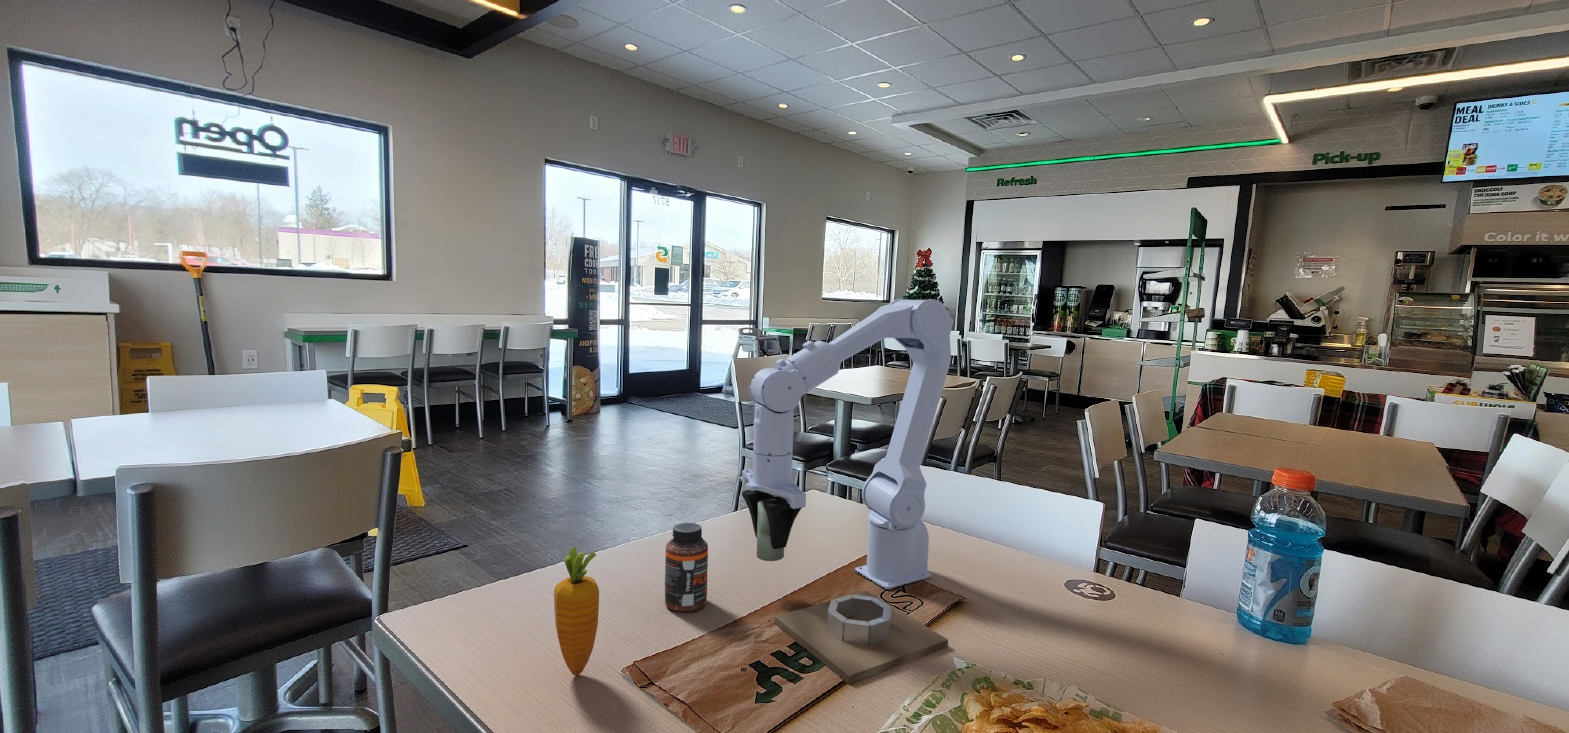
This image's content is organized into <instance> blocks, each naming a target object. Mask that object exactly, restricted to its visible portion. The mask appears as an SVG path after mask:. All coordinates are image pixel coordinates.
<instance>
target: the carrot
mask: <svg viewBox="0 0 1569 733" xmlns="http://www.w3.org/2000/svg"><path fill="white" fill-rule="evenodd" d="M585 555H586V554H585V553H584V552H580V551H578V553H577V549H576V547H575V546H574V547H570V548H569V549H568V555H567V556H565V557H564V564H565V567H566V570H567V572H568V574H569V576H568V577H566V578H564V579H563V580H561V581H560V582H558V583H556V585H555V586H554V589H553V590H554V591H553V598H554V599H553V603H554V605H553V606H554V617H555V618H554V619H555V620H554V621H555V627H556V628H555V629H556V634H557V639H558V642H559V643H558V644H559V647H560V651H561V654H562V655H561V656H562V657H563V660H564V662H565V664H566V666H567V668H568V669H569V671H570V673H571V675H573V676H575V677H579V676H580V675H581V674H582V673H583V672H584V670H585V668H586V666H587V664H588V662H589V660H590V657H591V655H592V652H593V650H594V646H595V641H596V636H597V630H598V625H599V612H600V611H599V609H600V605H599V604H600V589H599V586H598V583H597V582H596V580H595V578H593V577H591V576H585V575H586V574H587V573H588V570H587V569H586V568H587V565H588V564H589V563H590V561H592V560H593V559H594V558H595V557H596V556H597V554H596V553H595V552H592V553H590V554H589V555H588V556H586V557H585ZM584 558H585V559H584Z"/></svg>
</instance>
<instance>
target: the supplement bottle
mask: <svg viewBox="0 0 1569 733" xmlns="http://www.w3.org/2000/svg"><path fill="white" fill-rule="evenodd" d="M702 532H703V531H702V525H700V524H699V523H696V522H695V523H694V522H681V523H680V522H679V523H677V524H675V525H673V527H672V537H673V538H672V539H670V540H669V541H667V543H666V546H665V560H664V561H665V562H664V563H665V570H664V571H665V572H664V573H665V574H664V576H665V577H664V578H665V579H664V603H665V606H666V607H667V608H668V609H670V610H672V611H674V612H675V611H676V612H681V613H689V612H695V611H698V610H699V609H702V607H704V606H705V605H706V604H707V598H708V567H709V566H708V565H709V564H708V562H709V546H708V542H707V540H705V539H704V538H703V537H702V535H703V534H702Z"/></svg>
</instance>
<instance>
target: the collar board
mask: <svg viewBox="0 0 1569 733" xmlns="http://www.w3.org/2000/svg"><path fill="white" fill-rule="evenodd" d="M850 595H851V596H852V595H859V596H867V597H874V598H877V599H878V600H880V601H882V602H883V603H885V604H887V605H888V606H890V607H891V627H890V636H889V638H888V639H886V640H883V641H880V642H877V643H874V644H871V645H870V644H868V645H865V644H858V643H850V642H844V640H843V641H841V640H840V639H839V638H837V637H836V636H835V635H833V634H832V633H831V632H829V631H828V629H827V619H828V609H829V606H830V602H831V601H832V600H833V599H832V600H829V601H828V600H827V601H825V602H821V603H818V604H815V605H811V606H807V607H803V608H800V609H796V610H793V611H790V612H789V611H788V612H785V613H782V614H778V615H775V616H774V624H775V625H776V626H777V627H778V628H779V629H781V631H783V630H784V631H785V632H784V631H783V632H784V633H786V635H788V634H789V635H790V636H789V635H788V636H789V637H791V638H792V639H793V640H794V641H795V642H796V643H798V644H799V645H800V646H801V645H802V648H804V649H805V648H806V649H807V650H806V649H805V650H806V651H808V652H809V653H810V654H811V655H813V656H814V658H816V659H817V660H819V661H820V663H822V664H823V663H824V666H826V667H827V668H828V667H829V670H831V671H832V672H833V671H834V672H835V673H834V672H833V673H834V674H835V675H837V674H838V675H840V676H841V677H842V678H843V679H842V678H841V677H840V678H841V679H842V680H843V681H844V682H845V683H847V684H848V685H851V684H854V683H857V682H859V681H861V680H863V679H867V678H868V677H872V676H874V675H877V674H880V673H882V672H885V671H888V670H891V669H893V668H895V667H898V666H901V665H904V664H906V663H907V664H908V663H909V662H911V661H914V660H917V659H920V658H922V657H925V656H928V655H930V654H933V653H935V652H938V651H941V650H943V649H946V648H948V647H949V646H948V644H949V639H948V638H946V637H944V636H943V635H941V634H939V633H938V632H936V631H934V630H933V629H931V628H930V627H928V626H926V625H925V624H923V623H922V622H919V621H918V620H917V619H915V618H913V617H912V616H910V615H908V614H907V613H905V612H903V611H901V610H900V609H898V608H896V607H895V606H893V605H891V604H890V603H889V602H886V601H885V600H883V599H881V598H880V597H879V596H877V595H875V594H873V593H871V592H870V591H869V590H862V591H860V592H855V593H852V594H850ZM846 618H847V619H851V620H859V621H866V622H868V621H871V620H873V619H871V618H866V617H858V616H850V617H846ZM838 675H837V676H838Z"/></svg>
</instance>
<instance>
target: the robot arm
mask: <svg viewBox="0 0 1569 733" xmlns="http://www.w3.org/2000/svg"><path fill="white" fill-rule="evenodd" d="M953 325H954V320H953V318H952V316H951V314H950V312H949V310H948V309H947V307H946V305H945V304H944V303H942V302H941V301H940V300H938V299H934V298H933V299H931V298H930V299H907V298H896V299H894V300H892V301H891V302H889V303H888V304H885V305H884V304H883V305H882V306H879V308H877V310H876V311H875V310H874V312H873V313H871V314H869V316H867V317H865V318H864V319H862V320H861V321H859V322H858V323H857V324H855V325H853V326H852V327H850V328H849V329H847V330H846V331H845V332H843V333H842V334H841V335H838V336H837V337H836V338H834V339H833V340H831V341H829V342H825V341H822V340H815V342H814V341H813V340H807V341H806V342H803V344H802V347H803V348H802V349H801V350H799V351H797V352H796V353H794V354H792V355H790V356H789V357H788V358H786V359H784V358H780V359H778V360H776V361H775V364H776V366H775V368H774V367H766V368H765V367H764V368H762V369H761V370H759V371H757V372H756V373H755V374H754V376H753V377H754V378H752V379H751V383H750V385H748V387H747V388H748V394H749V397H750V398H751V400H752V401H753V403H754V418H753V442H752V444H753V448H752V450H753V452H752V468H749V469H743V470H741V471H742V472H741V483H743V484H745V488H746V490H742V492H741V496H742V498H743V499H744V501H745V503H746V505H747V508H748V510H749V514H750V517H751V521H752V522H751V523H752V528H753V532H754V535H755V539H757V522H758V502H759V501H760V500H763V499H776V501H775V500H772V501H766V502H763V506H764V508H765V510H766V513H767V516H768V521H769V527H770V541H771V546H772V548H773V549H779V548H784V549H785V548H787V544H788V541H789V537H790V533H791V530H792V528H793V525H794V523H795V521H796V518H797V516H798V514H799V513H800V512H801V510H802V508H806V506H807V505H806V504H807V503H806V502H807V501H806V500H807V492H804V491H803V490H801V489H800V487H799V486H797V484H796V483H795V482H794V480H793V458H794V457H793V450H794V449H793V446H794V445H793V443H794V413H795V412H794V409H795V408H796V407H797V406H798V405H799V403H800V401H801V400H802V396H804V395H805V394H807V393H808V392H810V391H812V390H813V389H815V388H816V387H817V388H818V386H821V385H822V384H824V382H827V381H828V380H830V379H831V378H832V377H834V376H836V375H837V374H839V371H840V368H841V364H842V362H843V361H846V360H847V359H849V358H851V357H853V356H854V355H855V356H856V355H857V354H858V353H860V352H861V351H864V350H865V349H868V348H869V347H871V346H873V345H875V344H876V343H878V342H880V341H882V340H884V339H894V340H895V341H897V342H898V343H899V344H900V345H901V346H902V347H903V348H904V349H905V350H906V353H908V355H909V358H910V359H911V361H912V367H911V371H910V373H909V376H908V381H907V384H906V387H905V391H904V394H903V398H902V401H901V404H900V408H899V410H898V415H897V418H896V422H895V425H894V426H893V427H894V428H893V432H892V435H891V439H890V442H889V445H888V449H887V451H886V455H885V456H884V457H883V458H882V459H880V460H879V461H878V462H877V463H875V465H874V467H873V469H872V470H873V471H872V473H871V474H870V475H869V477H868V478H867V479H866V480H865V482H864V484H863V486H862V488H861V489H862V490H861V498H862V502H863V504H864V505H865V506H866V507H867V508H868V512H867V515H868V524H867V526H868V527H867V531H868V532H867V550H866V551H867V554H866V564H865V565H861V566H856V567H855V568H854V571H855V570H856V571H857V572H856V571H855V572H856V573H858V572H859V573H860V574H859V573H858V574H859V575H861V574H862V575H861V576H863V577H864V576H865V577H864V578H866V579H868V580H869V581H871V580H872V581H871V582H873V583H874V584H876V585H878V586H880V587H882V588H883V587H884V588H883V589H885V590H891V589H894V588H897V586H898V587H901V586H904V584H905V585H909V584H911V583H915V582H919V581H921V580H925V579H929V578H930V577H931V576H932V574H931V573H930V572H928V562H929V543H930V541H929V540H930V537H929V532H928V528H927V526H926V524H925V523H924V522H923V521H922V518H923V516H924V513H925V510H926V503H925V502H926V501H925V491H926V488H927V481H926V480H925V477H924V474H923V472H922V470H921V464H922V461H923V458H924V454H925V451H926V447H927V444H928V440H929V437H930V434H931V429H932V427H933V422H934V419H935V416H936V413H937V409H938V405H939V403H940V400H941V396H942V392H943V389H944V386H945V383H946V380H947V375H948V374H949V373H948V372H949V370H950V366H951V361H952V353H951V351H952V350H951V332H952V329H953ZM860 568H862V569H860Z"/></svg>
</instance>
